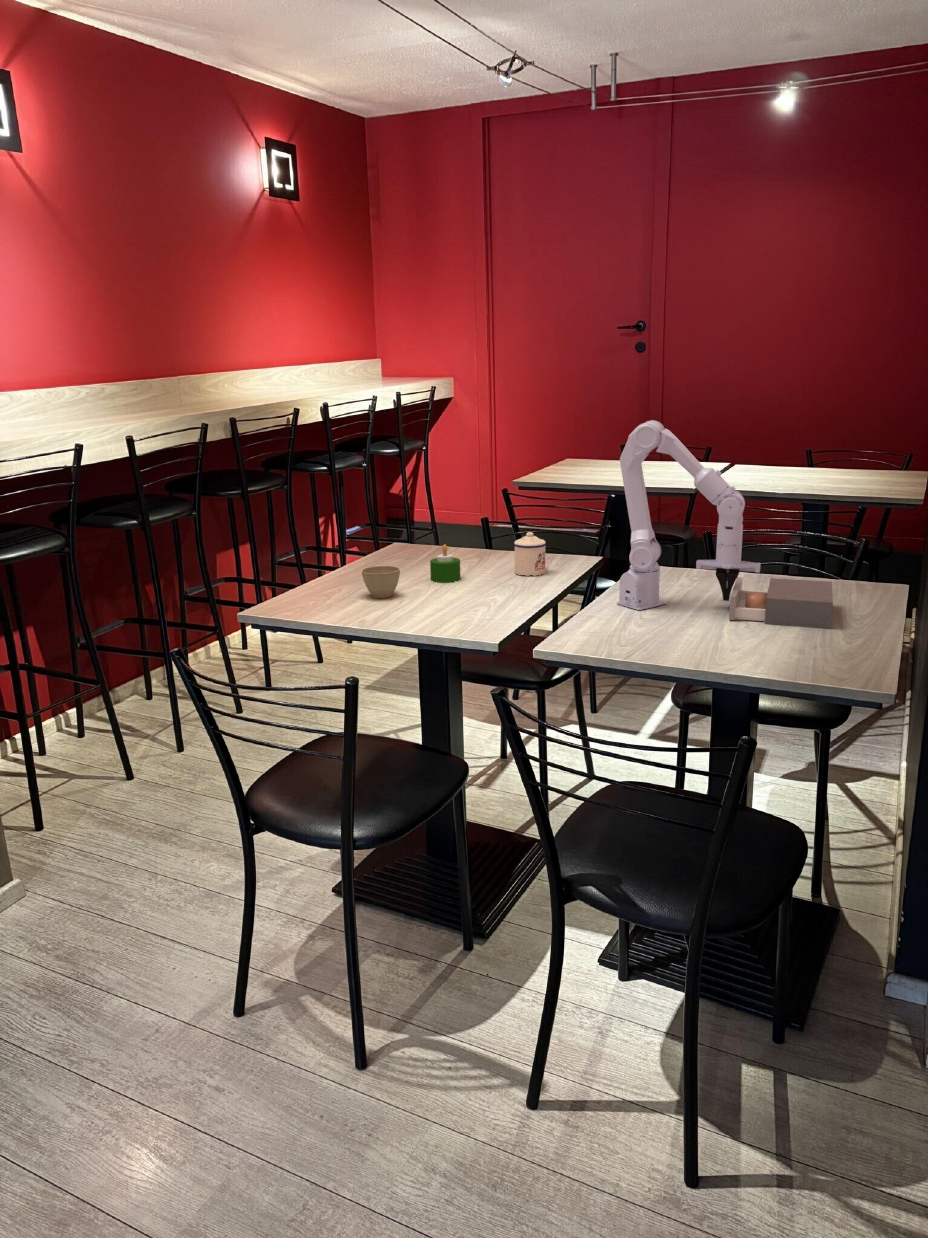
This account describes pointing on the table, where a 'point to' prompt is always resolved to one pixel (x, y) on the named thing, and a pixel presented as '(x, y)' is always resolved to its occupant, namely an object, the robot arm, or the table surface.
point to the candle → (445, 568)
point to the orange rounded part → (756, 600)
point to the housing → (799, 603)
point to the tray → (743, 605)
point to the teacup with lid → (529, 555)
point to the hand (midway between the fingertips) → (726, 599)
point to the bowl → (381, 580)
